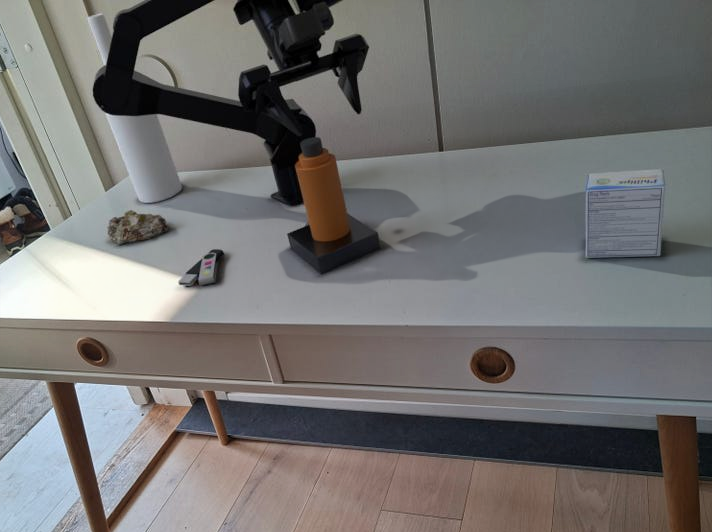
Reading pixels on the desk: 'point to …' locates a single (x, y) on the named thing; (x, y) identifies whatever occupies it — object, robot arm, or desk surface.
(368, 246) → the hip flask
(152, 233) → the mineral rock
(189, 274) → the usb flash drive
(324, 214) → the amber bottle
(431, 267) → the desk surface
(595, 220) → the medicine box
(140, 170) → the bottle
